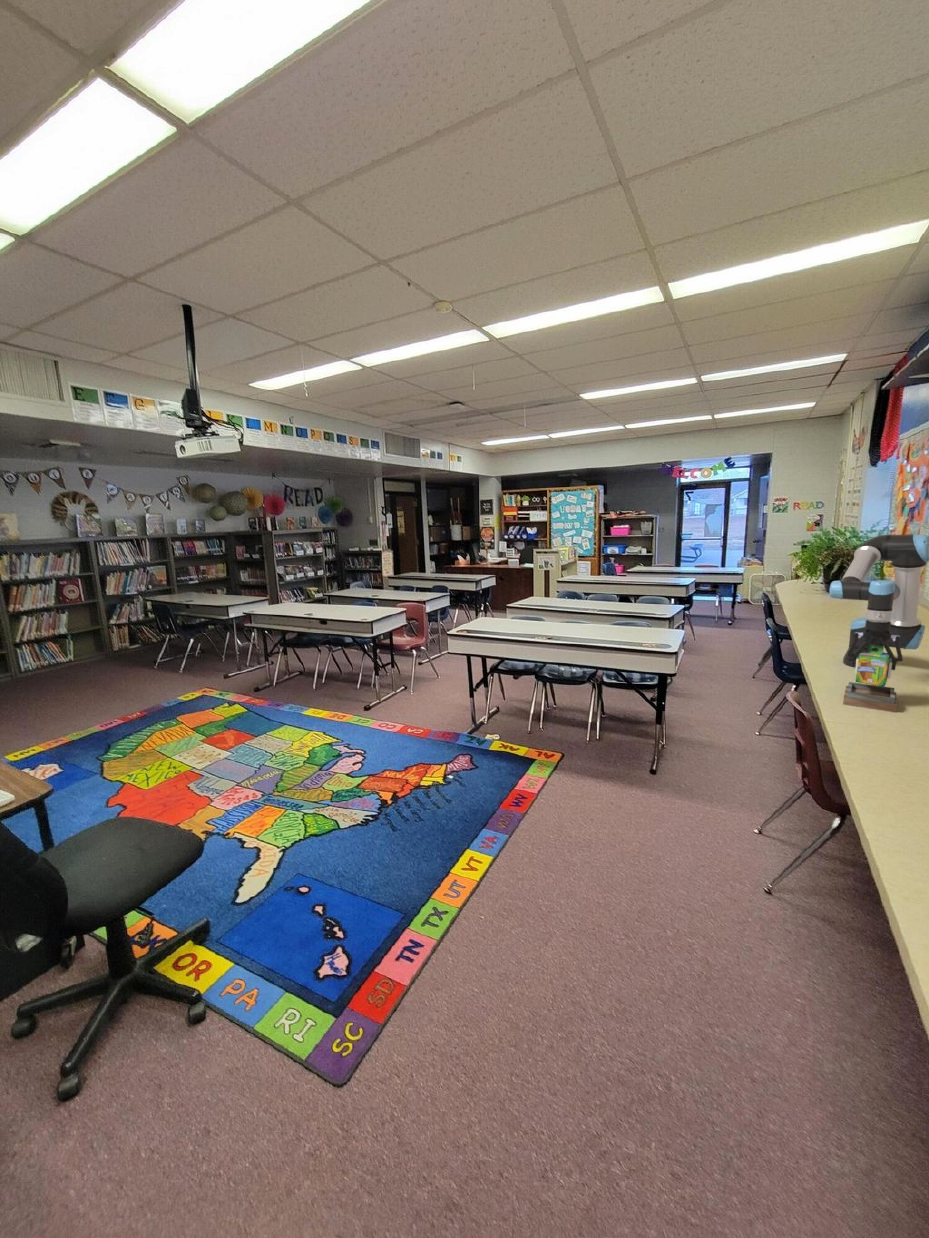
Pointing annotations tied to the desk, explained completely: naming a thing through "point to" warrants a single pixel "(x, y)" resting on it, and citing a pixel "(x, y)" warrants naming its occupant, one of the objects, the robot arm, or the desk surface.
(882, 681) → the chalk box
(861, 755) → the desk surface
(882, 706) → the square frame
